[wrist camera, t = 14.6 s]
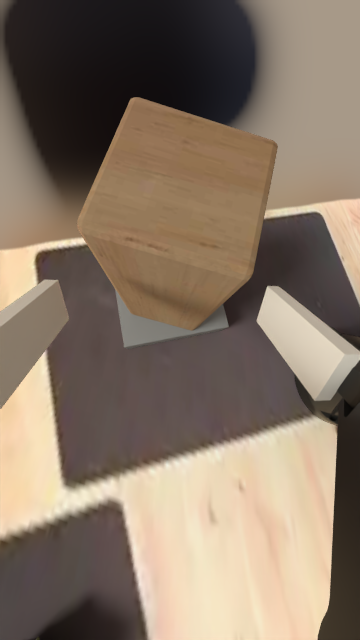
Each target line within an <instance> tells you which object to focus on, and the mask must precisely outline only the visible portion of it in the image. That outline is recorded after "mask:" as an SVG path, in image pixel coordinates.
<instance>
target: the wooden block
mask: <svg viewBox="0 0 360 640" xmlns="http://www.w3.org/2000/svg"><path fill="white" fill-rule="evenodd" d="M277 147H278V146H277V144H276V143H275V142H274V141H273V140H269V139H267V138H263V137H260V136H257V135H254V134H251V133H248V132H245V131H242V130H238V129H235V128H232V127H229V126H226V125H222V124H220V123H217V122H214V121H210V120H207V119H204V118H201V117H198V116H194V115H192V114H189V113H185V112H182V111H179V110H176V109H173V108H170V107H167V106H164V105H160V104H157V103H154V102H151V101H148V100H145V99H142V98H138V97H136V98H132V99H131V100H130V102H129V104H128V107H127V109H126V111H125V113H124V115H123V118H122V120H121V122H120V124H119V127H118V129H117V132H116V134H115V136H114V138H113V140H112V143H111V145H110V147H109V150H108V152H107V154H106V156H105V159H104V161H103V163H102V165H101V168H100V170H99V172H98V174H97V177H96V179H95V181H94V184H93V186H92V188H91V190H90V192H89V195H88V197H87V199H86V202H85V204H84V206H83V208H82V211H81V213H80V215H79V218H78V222H77V227H78V230H79V232H80V234H81V235H82V237H83V238H84V240H85V242H86V243H87V245H88V246H89V248H90V250H91V251H92V253H93V254H94V256H95V257H96V259H97V261H98V262H99V264H100V265H101V267H102V269H103V270H104V272H105V273H106V275H107V276H108V278H109V280H110V281H111V283H112V284H113V286H114V288H115V289H116V291H117V292H118V294H119V295H120V297H121V299H122V300H123V302H124V303H125V305H126V306H127V308H128V310H129V311H130V313H131V314H133V315H137V316H140V317H144V318H147V319H151V320H155V321H158V322H162V323H165V324H169V325H173V326H176V327H180V328H183V329H187V330H191V331H193V330H195V329H196V328H197V327H198V326H199V325H200V324H201V323H202V322H203V321H205V320H206V319H207V318H208V317H209V316H210V315H211V314H212V313H213V312H214V311H215V310H217V309H218V308H219V307H220V306H221V305H222V304H223V303H224V302H225V301H226V300H227V299H228V298H230V297H231V296H232V295H233V294H234V293H235V292H236V291H237V290H238V289H239V288H240V287H242V286H243V285H244V284H245V283H246V282H247V281H248V280H249V279H250V278H251V276H252V275H253V271H254V266H255V261H256V256H257V251H258V245H259V240H260V235H261V230H262V225H263V220H264V215H265V210H266V204H267V199H268V194H269V189H270V184H271V179H272V174H273V169H274V164H275V158H276V153H277Z"/></svg>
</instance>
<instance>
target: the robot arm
mask: <svg viewBox="0 0 360 640" xmlns="http://www.w3.org/2000/svg"><path fill="white" fill-rule="evenodd" d="M68 320H69V317H68V313H67V310H66V306H65V302H64V299H63V295H62V292H61V288H60V285H59V281H58V280H44V281H42V282H41V283H40V284H38V285H37V286H35V287H34V288H33V289H31V290H30V291H28V292H27V293H26V294H24V295H23V296H21V297H20V298H19V299H17V300H16V301H14V302H13V303H12V304H10V305H9V306H7V307H6V308H5V309H3V310H2V311H0V409H1V408H2V407H3V405H4V404H5V403H6V401H7V400H8V399H9V397H10V396H11V395H12V394H13V392H14V391H15V390H16V388H17V387H18V386H19V384H20V383H21V382H22V380H23V379H24V378H25V376H26V375H27V374H28V373H29V371H30V370H31V369H32V367H33V366H34V365H35V363H36V362H37V361H38V359H39V358H40V357H41V355H42V354H43V353H44V352H45V350H46V349H47V348H48V346H49V345H50V344H51V342H52V341H53V340H54V338H55V337H56V336H57V334H58V333H59V332H60V331H61V329H62V328H63V327H64V325H65V324H66V323H67V321H68ZM257 323H258V324H259V325H260V327H261V328H262V329H263V331H264V332H265V334H266V335H267V336H268V338H269V339H270V340H271V342H272V343H273V345H274V346H275V347H276V349H277V350H278V351H279V353H280V354H281V355H282V357H283V358H284V360H285V361H286V362H287V364H288V365H289V366H290V368H291V369H292V371H293V372H294V373H295V382H296V387H297V390H298V393H299V395H300V397H301V399H302V401H303V402H304V404H305V405H306V406H307V408H308V409H309V410H310V411H311V412H312V413H313V414H314V415H316V416H317V417H318V418H320V419H322V420H323V421H326V422H328V423H331V424H334V425H336V426H338V434H337V455H336V477H335V499H334V521H333V542H332V564H331V586H330V600H329V606H328V610H327V612H326V614H325V616H324V618H323V620H322V623H321V626H320V630H319V634H318V640H360V337H357V336H352V335H346V334H340V333H339V332H338V331H336V330H335V329H334V328H332V327H330V326H328V325H326V324H325V323H324V322H322V321H321V320H320V319H319V318H317V317H316V316H315V315H314V314H312V313H311V312H310V311H309V310H307V309H306V308H305V307H304V306H303V305H301V304H300V303H299V302H298V301H296V300H295V299H294V298H293V297H291V296H290V295H289V294H288V293H286V292H285V291H284V290H283V289H281V288H280V287H279V286H267V289H266V292H265V296H264V299H263V302H262V305H261V308H260V312H259V315H258V318H257Z"/></svg>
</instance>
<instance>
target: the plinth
mask: <svg viewBox="0 0 360 640" xmlns="http://www.w3.org/2000/svg"><path fill="white" fill-rule="evenodd" d="M115 290H116V289H115ZM116 297H117V303H118V310H119V316H120V323H121V329H122V336H123V342H124V347H125V348H128V349H131V348H136V347H141V346H146V345H151V344H156V343H161V342H166V341H171V340H176V339H181V338H186V337H192V336H197V335H202V334H207V333H212V332H217V331H221V330H223V329H225V328H228V327H229V325H228V321H227V318H226V314H225V310H224V306H223V304H222V305H221V306H220V307H219V308H218V309H217V310H215V311H214V312H213V313H212V314H211V315H210V316H209V317H208V318H207V319H206V320H205V321H203V322H202V323H201V324H200V325H199V326H198V327H197V328H196V329H195V330H193V331H191V330H187V329H183V328H180V327H176V326H173V325H169V324H165V323H162V322H158V321H155V320H151V319H147V318H144V317H140V316H137V315H133V314H131V313H130V311H129V310H128V308H127V306H126V305H125V303H124V302H123V300H122V299H121V297H120V295H119V294H118V292H117V291H116Z"/></svg>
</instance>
